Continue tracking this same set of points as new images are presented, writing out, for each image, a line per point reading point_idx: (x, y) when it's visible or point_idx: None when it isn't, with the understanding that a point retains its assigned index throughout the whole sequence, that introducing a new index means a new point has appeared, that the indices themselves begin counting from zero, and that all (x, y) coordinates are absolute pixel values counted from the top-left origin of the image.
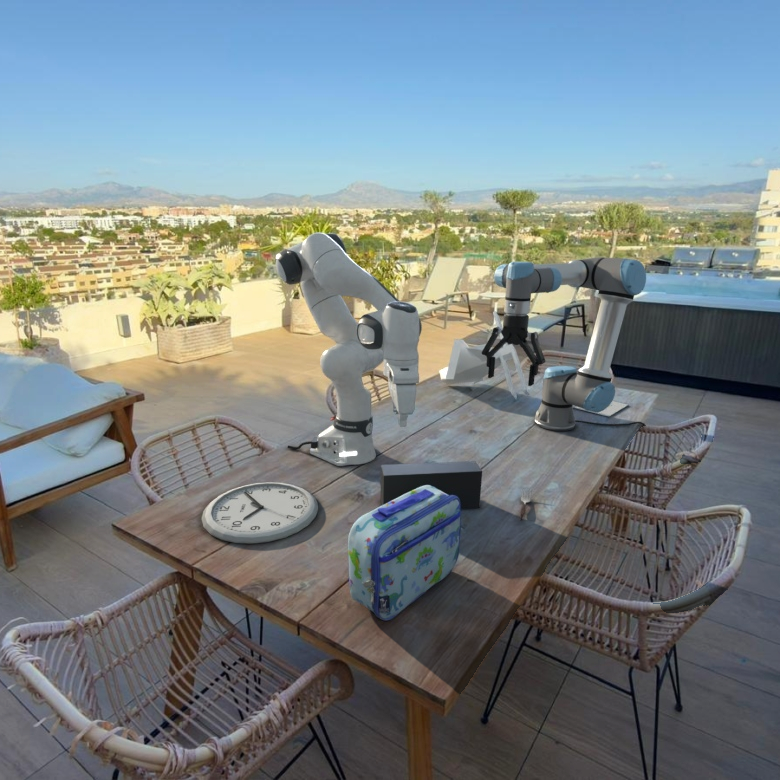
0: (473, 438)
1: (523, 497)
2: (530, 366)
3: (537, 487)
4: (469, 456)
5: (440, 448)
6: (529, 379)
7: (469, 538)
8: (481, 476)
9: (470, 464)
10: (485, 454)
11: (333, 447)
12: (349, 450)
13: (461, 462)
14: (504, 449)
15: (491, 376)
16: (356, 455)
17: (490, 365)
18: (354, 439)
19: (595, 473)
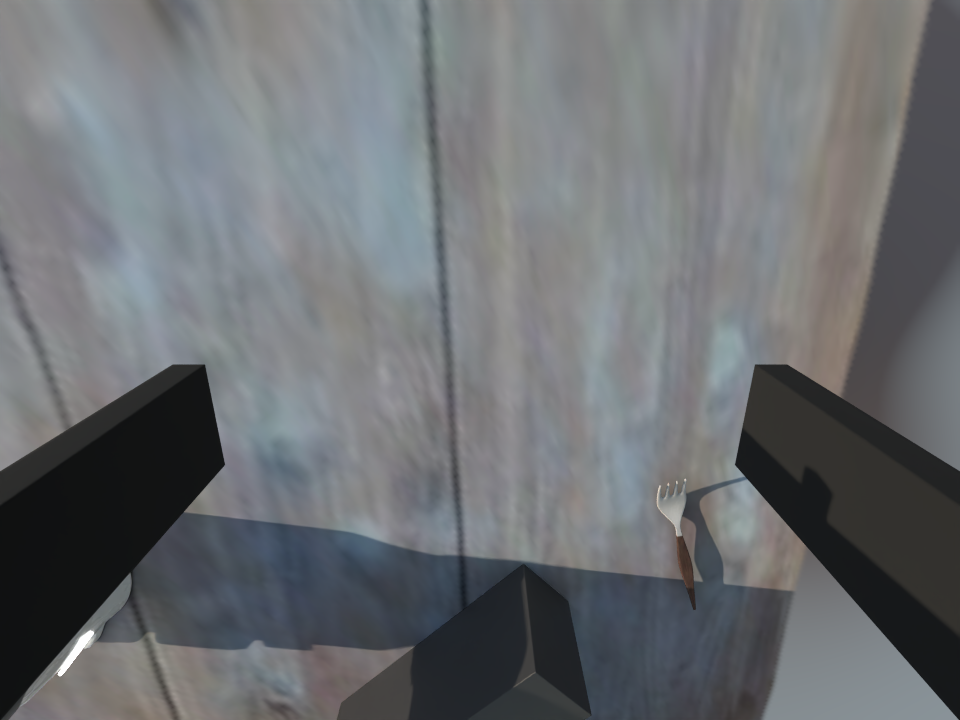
0: (239, 109)
1: (663, 500)
2: (957, 707)
3: (679, 399)
4: (353, 320)
5: (212, 325)
6: (792, 516)
7: (605, 706)
8: (586, 697)
9: (534, 700)
10: (393, 257)
11: None
12: (66, 660)
13: (499, 703)
14: (433, 141)
15: (210, 437)
16: (94, 629)
17: (100, 595)
18: (37, 683)
19: (877, 127)
